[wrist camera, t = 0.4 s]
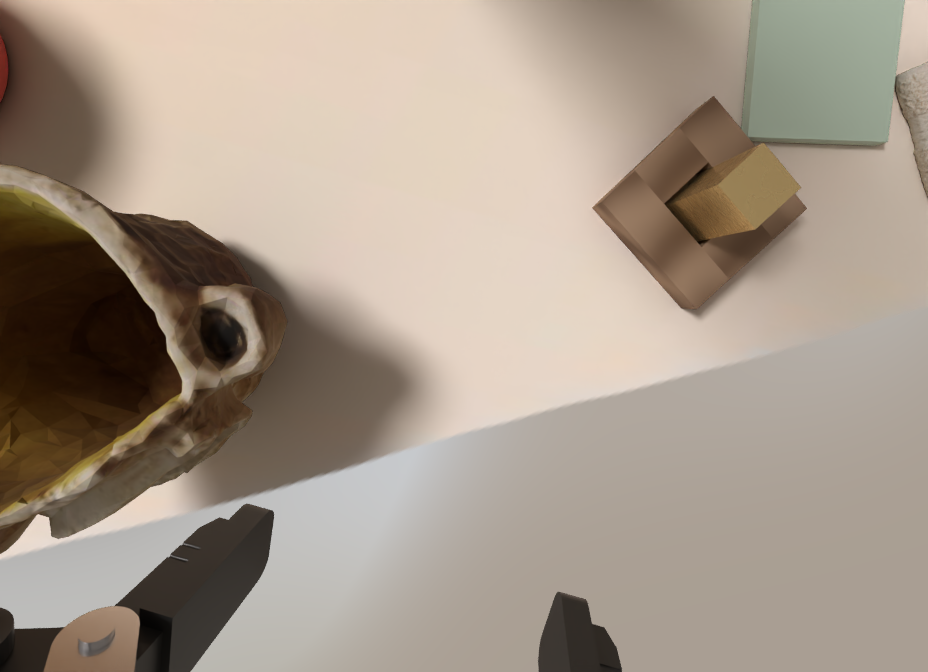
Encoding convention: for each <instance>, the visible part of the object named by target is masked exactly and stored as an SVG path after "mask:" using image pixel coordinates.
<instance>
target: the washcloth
mask: <svg viewBox="0 0 928 672" xmlns="http://www.w3.org/2000/svg"><path fill="white" fill-rule="evenodd" d="M895 78H896V82H895V86H896V92H897V96H898V100H899V103H900V105H901V108H902V109H903V111H902V113H903V115H904V118H905V119H907V120H908V124H909V126H910V132H911V134H912V140H913V142H914V145H915V149H914V152H913V154H914V155H915V157H916V161H917V163H918V169H919V170H920V175H921V179H922V182H923V183H924V189H925V191H926V193H927V196H928V62H926V63H924V64H922V65H920V66H917V67H915V68H912V69H910V70H908V71H905V72H903V73H901V74H898V75H896V77H895Z"/></svg>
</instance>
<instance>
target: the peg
mask: <svg viewBox="0 0 928 672" xmlns="http://www.w3.org/2000/svg"><path fill="white" fill-rule="evenodd" d="M800 188H801V187H800V186H799V185H798V183H797V182H796V181H795V180H794V179H793V177H792V176H791V175H790V174H789V172H788V171H787V170H786V169H785V168H784V166H783V165H782V164H781V163H780V162H779V160H778V159H777V158H776V157H775V156H774V154H773V153H772V152H771V151H770V150H769V148H768V147H767V146H766V145H765V143H764V142H763V143H761V144H759V145H757V146H755V147H753V148H751V149H749V150H747V151H745V152H743V153H741V154H739V155H736V156H734V157H732V158H730V159H728V160H726V161H724V162H722V163H720V164H718V165H716V166H714V167H712V168H710V169H708V170H705V171H703V172H701V173H699V174H697V175H695V176H693V177H692V178H691V179H690V180H689V181H688V182H687V183H686V184H684V185H683V186H682V187H681V188H680V189H679V190H678V191H677V192H676V193H675V194H674V195H673V196H672V197H671V198H670V199H668V200H667V201H666V202H665V203H664V205H665V206H666V207H667V208H668V209H669V210H670V211H671V213H672V214H673V215H674V216H675V217H676V218H677V220H678V221H679V222H680V223H681V224H682V225H683V226H684V228H685V229H686V230H687V231H688V232H689V233H690V235H691V236H692V237H693V238H694V239H695V240H696V241H701V240H706V239H711V238H716V237H721V236H726V235H730V234H735V233H740V232H745V231H750V230H755V229H756V228H758V227H759V226H760V225H761V224H762V223H763V222H764V221H765V220H766V219H767V218H768V217H770V216H771V215H772V214H773V213H774V212H775V211H776V210H777V209H778V208H779V207H780V206H782V205H783V204H784V203H785V202H786V201H787V200H788V199H789V198H790V197H791V196H792V195H794V194H795V193H796V192H797V191H798V190H799V189H800Z"/></svg>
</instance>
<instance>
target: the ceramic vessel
mask: <svg viewBox="0 0 928 672" xmlns="http://www.w3.org/2000/svg"><path fill="white" fill-rule="evenodd" d="M286 325H287V319H286V317H285V314H284V311H283V308H282V306H281V303H280V302H279V301H277V300H276V299H275V298H273V297H272V296H271V295H269V294H268V293H266V292H264V291H263V290H261V289H259V288H256V287H252V282H251V278H250V277H249V275H248V274H247V273H246V271H245V270H244V268H243V267H242V266H241V264H240V262H239V260H238V258H237V257H236V256H235V255H234V254H233V253H232V252H231V251H230V250H229V249H228V248H227V247H226V246H225V245H224V244H223V243H221V242H220V241H218V240H216V239H215V238H213V237H212V236H210V235H208V234H207V233H205V232H204V231H202V230H200V229H199V228H197V227H196V226H194V225H193V224H191V223H190V222H188V221H179V220H168V219H164V218H160V217H157V216H153V215H148V214H135V215H134V214H123V213H118V212H113V211H112V210H110V209H109V208H107V207H106V206H104V205H103V204H101V203H100V202H98V201H97V200H95V199H94V198H92V197H91V196H90V195H88V194H87V193H85V192H84V191H81V190H79V189H77V188H74V187H72V186H69V185H67V184H64V183H62V182H59V181H57V180H55V179H52V178H50V177H48V176H45V175H42V174H39V173H36V172H33V171H30V170H27V169H24V168H21V167H19V166H13V165H3V164H0V554H1V553H3V552H4V551H6V550H7V549H8V548H10V547H11V546H12V545H13V544H14V543H15V542H16V541H17V540H18V539H19V538H20V536H21V535H22V534H23V532H24V531H25V530H26V528H27V527H28V526H29V524H30V523H31V522H32V520H33V519H34V518H35V516H36V515H37V514H40V515H43V516H46V517H49V520H50V527H51V536H52V537H55V538H57V539H59V538H64V537H69V536H71V535H73V534H75V533H77V532H79V531H81V530H84V529H86V528H88V527H90V526H92V525H94V524H96V523H98V522H100V521H101V520H103V519H105V518H106V517H108V516H110V515H112V514H113V513H115V512H117V511H118V510H119V509H121V508H122V507H124V506H125V505H126V504H128V503H129V502H131V501H132V500H134V499H135V498H136V497H138V496H139V495H140V494H142V493H143V492H144V491H146V490H147V489H148V488H150V487H152V486H157V485H161V484H163V483H165V482H167V481H170V480H173V479H176V478H177V477H178V476H180V475H181V474H182V473H184V472H185V473H188V472H189V471H190V470H191V469H192V468H193V467H194V466H196V465H197V464H199V463H200V462H202V461H203V460H205V459H207V458H208V457H210V456H212V455H213V454H215V453H216V452H217V451H218V450H219V449H220V448H221V447H222V445H223V444H224V443H225V442H226V441H227V439H228V438H229V437H230V436H231V435H232V434H234V433H235V432H237V431H238V430H240V429H241V428H243V427H244V426H245V425H246V424H247V422H248V421H249V419H250V418H251V416H252V410H251V409H249V408H248V407H247V406H245V405H244V404H243V403H242V402H243V401H244V400H245V399H246V398H247V397H248V396H249V395H250V394H251V393H252V392H253V391H254V390H255V389H256V387H257V386H258V384H259V382H260V380H261V378H262V375H263V373H264V371H266V370H267V369H268V368H269V366H270V365H271V364H272V363H273V361H274V359H275V357H276V355H277V353H278V350H279V348H280V346H281V343H282V339H283V336H284V332H285V329H286Z"/></svg>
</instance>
